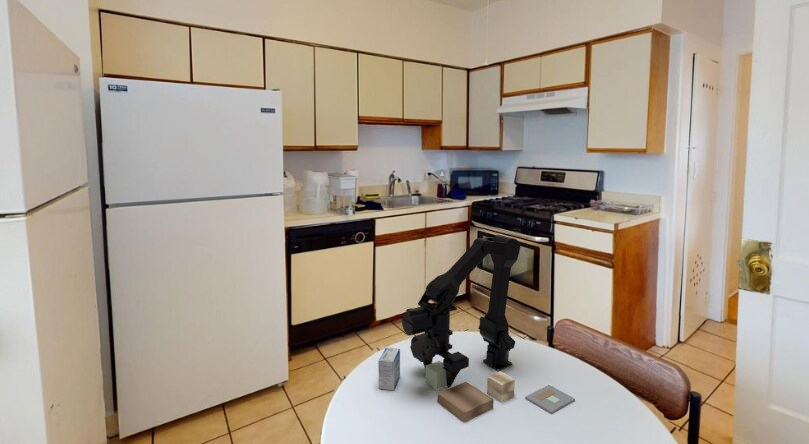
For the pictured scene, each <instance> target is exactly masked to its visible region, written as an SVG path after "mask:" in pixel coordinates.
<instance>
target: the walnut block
mask: <svg viewBox="0 0 809 444" xmlns="http://www.w3.org/2000/svg"><path fill="white" fill-rule="evenodd" d="M494 400H495V398H493V397H491V396H490V395H488V394H487V393H485V392H483V391H482V390H480V389H478V388H477V387H476V386H474V385H472V384H471V383H469V382H468V381H464V382H462V383H459V384H456V385H455V386H451V387H449V388H447V389H444V390H443V391H440V392H438V393H437V401H436V402H437V403H438V404H439V405H440V406H441V407H443V408H444V409H445V410H447V411H448V412H450V414H452V415H454V416H455V417H456V418H457V419H459V421H461V422H462V423H466V422H468V421H470V420H472V419H474V418H477V417H479V416H481V415H483V414H484V413H486V412H488V411H490V410H493V409H494Z"/></svg>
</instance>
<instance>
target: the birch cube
mask: <svg viewBox="0 0 809 444" xmlns="http://www.w3.org/2000/svg"><path fill="white" fill-rule="evenodd" d="M515 381H516V379H515V378H514V377H511V375H510V376H509V375H508V374H506V373H504V372H502V371H500V370H499V371H498V372H495V373H493V374H491V375H489V376H487V382H486V385H487V387H486V395H488V396H490V397H491V398H493V399H494V400H496V401H498V402H500V403H503V402H506V401H507V400H509V399H511V398H513V397H514V396H515V387H516V386H515V383H516V382H515Z"/></svg>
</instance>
